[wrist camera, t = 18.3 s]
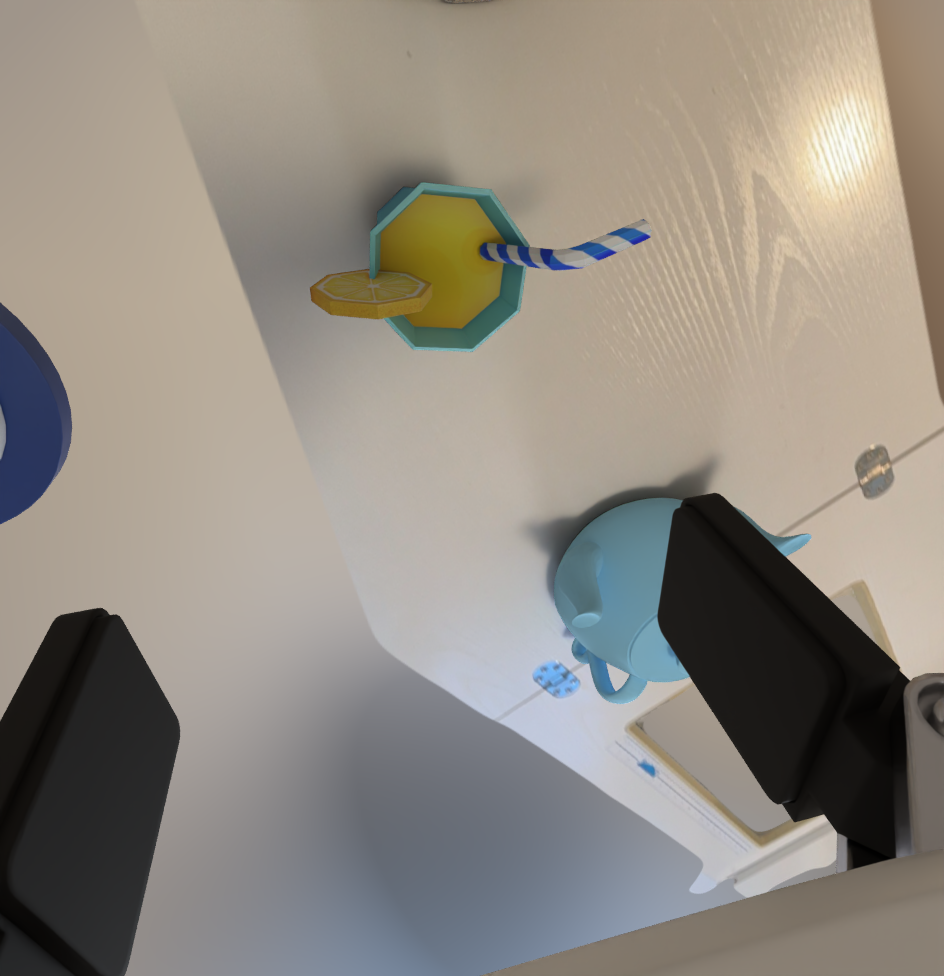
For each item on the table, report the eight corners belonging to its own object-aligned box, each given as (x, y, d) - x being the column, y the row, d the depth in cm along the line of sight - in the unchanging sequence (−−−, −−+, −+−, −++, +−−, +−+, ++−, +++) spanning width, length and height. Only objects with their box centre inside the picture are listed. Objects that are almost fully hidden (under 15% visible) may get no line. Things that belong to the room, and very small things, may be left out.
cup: (527, 117, 33) (648, 121, 21) (553, 255, 38) (666, 325, 25) (293, 199, 33) (276, 252, 20) (348, 328, 37) (361, 435, 25)
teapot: (713, 441, 48) (816, 528, 38) (725, 591, 59) (808, 690, 49) (520, 516, 48) (572, 623, 38) (566, 653, 59) (617, 765, 49)
